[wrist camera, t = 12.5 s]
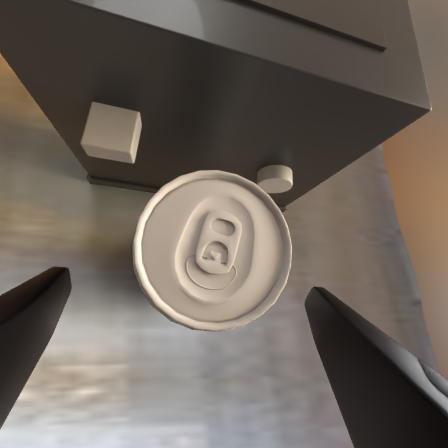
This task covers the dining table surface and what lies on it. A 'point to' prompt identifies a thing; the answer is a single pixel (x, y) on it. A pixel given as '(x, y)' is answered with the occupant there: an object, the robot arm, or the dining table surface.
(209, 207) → the beverage can
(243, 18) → the toaster
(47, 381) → the dining table surface
